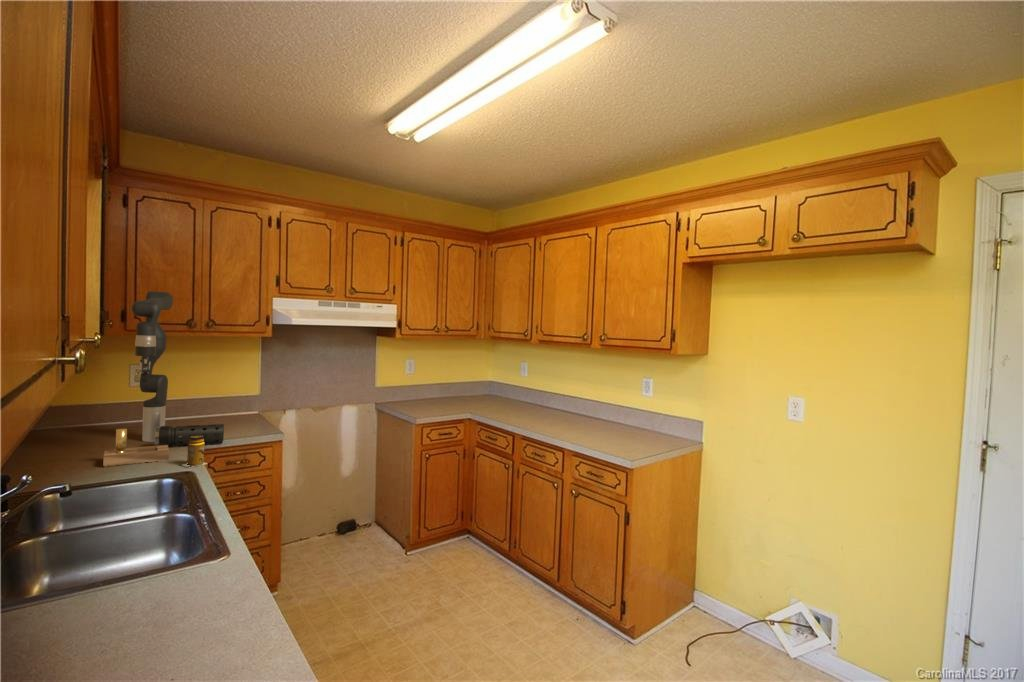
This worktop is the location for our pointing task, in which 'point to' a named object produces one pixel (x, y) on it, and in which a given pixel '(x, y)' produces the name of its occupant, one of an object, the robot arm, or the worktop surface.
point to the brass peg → (121, 440)
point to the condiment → (196, 451)
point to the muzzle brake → (188, 434)
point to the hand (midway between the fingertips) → (144, 380)
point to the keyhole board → (136, 455)
